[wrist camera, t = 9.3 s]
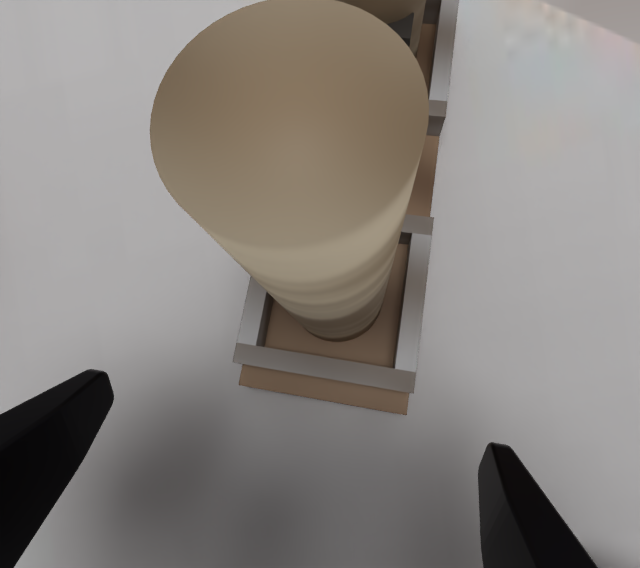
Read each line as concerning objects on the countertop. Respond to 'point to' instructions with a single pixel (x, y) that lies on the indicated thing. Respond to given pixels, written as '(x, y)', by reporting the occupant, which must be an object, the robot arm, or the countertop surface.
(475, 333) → the countertop surface
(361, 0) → the long tan cylinder
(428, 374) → the countertop surface
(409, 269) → the double slot holder
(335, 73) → the beige round canister
